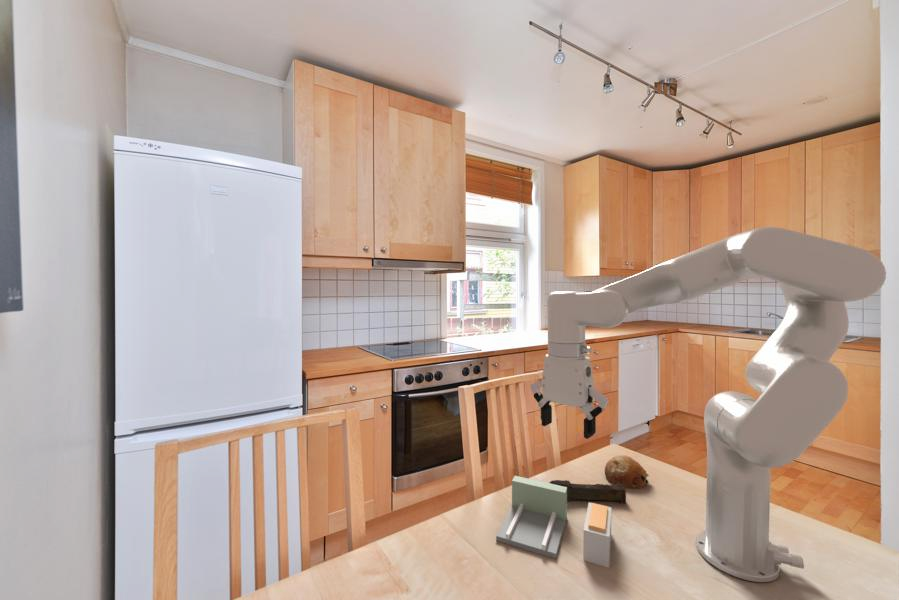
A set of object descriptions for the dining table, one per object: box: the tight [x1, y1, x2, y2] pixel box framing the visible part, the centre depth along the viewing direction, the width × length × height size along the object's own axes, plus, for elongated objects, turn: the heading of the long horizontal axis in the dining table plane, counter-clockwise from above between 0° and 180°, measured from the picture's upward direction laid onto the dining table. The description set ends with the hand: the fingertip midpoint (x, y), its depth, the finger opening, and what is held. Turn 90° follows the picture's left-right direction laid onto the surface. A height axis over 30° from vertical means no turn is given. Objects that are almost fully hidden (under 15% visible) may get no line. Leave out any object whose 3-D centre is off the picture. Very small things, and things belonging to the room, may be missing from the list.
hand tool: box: [548, 479, 627, 504], centre depth 91 cm, size 19×4×5 cm, turn 85°
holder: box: [582, 501, 612, 568], centre depth 74 cm, size 4×10×7 cm, turn 154°
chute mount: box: [495, 475, 568, 559], centre depth 80 cm, size 12×14×7 cm
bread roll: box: [604, 454, 649, 489], centre depth 100 cm, size 10×10×8 cm
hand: (567, 430), depth 79 cm, fingers open, 9 cm apart
